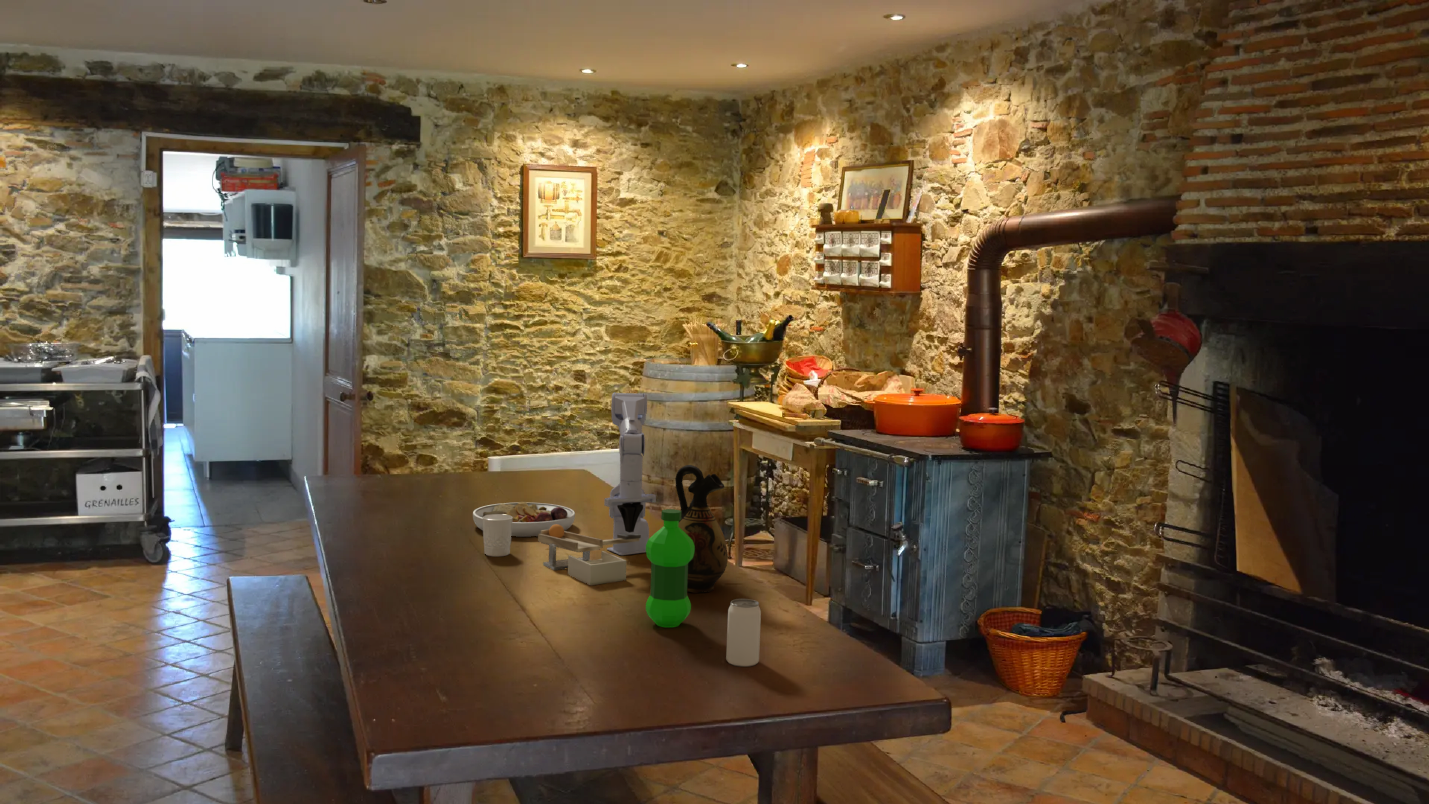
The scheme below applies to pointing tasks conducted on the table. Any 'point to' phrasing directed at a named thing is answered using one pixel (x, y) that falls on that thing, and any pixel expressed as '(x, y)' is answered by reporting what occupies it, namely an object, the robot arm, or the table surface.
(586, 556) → the lever stand
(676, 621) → the plastic bottle
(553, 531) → the ball
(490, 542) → the white cup
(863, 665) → the table surface
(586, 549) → the lever
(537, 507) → the bowl
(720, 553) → the ceramic jug
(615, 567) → the cream open box
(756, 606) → the can
